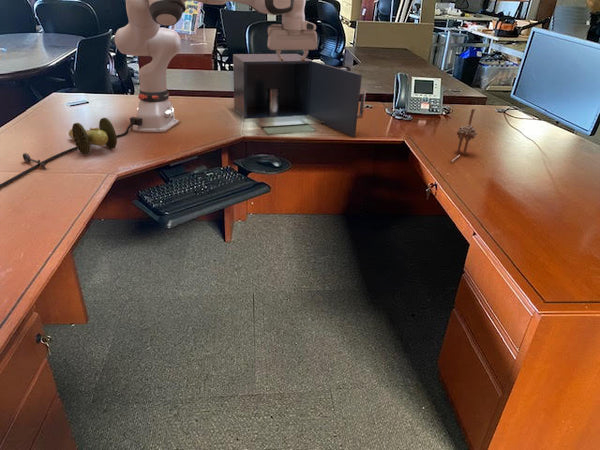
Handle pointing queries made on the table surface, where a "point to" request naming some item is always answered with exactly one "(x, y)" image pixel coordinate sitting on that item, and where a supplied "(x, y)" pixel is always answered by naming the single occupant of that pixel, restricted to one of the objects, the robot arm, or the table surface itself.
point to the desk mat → (287, 129)
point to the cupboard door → (336, 97)
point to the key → (28, 159)
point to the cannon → (93, 136)
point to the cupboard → (271, 84)
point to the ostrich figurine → (466, 134)
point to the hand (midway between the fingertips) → (291, 61)
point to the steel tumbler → (273, 100)
